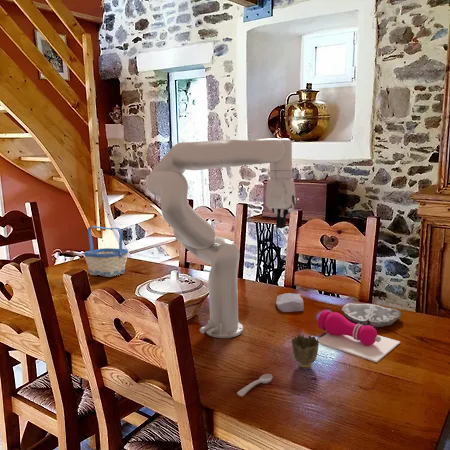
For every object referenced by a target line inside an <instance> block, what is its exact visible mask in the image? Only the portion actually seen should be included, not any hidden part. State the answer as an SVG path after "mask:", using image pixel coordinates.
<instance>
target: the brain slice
mask: <svg viewBox="0 0 450 450" xmlns="http://www.w3.org/2000/svg"><path fill="white" fill-rule="evenodd" d="M341 311H342V312H343V313H344V314H343V315H344V316H345V318H346V319H347V320H348V321H351V322H353V323H355V324H361V325H363V326H366V325H369V326H372V327H374V328H383V327H388V326H391V325H393V324H394V323H395V322H396V321H398V320H399V319H400V318H401V316H402V313H401V310H399V309H396V308H389V307H384V306H381V305H379V304H378V305H377V304H374V303H373V304H372V303H351V302H350V303H349V302H348V303H346V304H344V305H343V306H342V308H341Z"/></svg>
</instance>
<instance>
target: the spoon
mask: <svg viewBox="0 0 450 450" xmlns="http://www.w3.org/2000/svg"><path fill="white" fill-rule="evenodd" d="M272 380H273V375H272V374H271V373H264V374H262V375H260V376H259V378H258V379H256V380H254V381H253V382H252V381H251V382H250V383H249V384H247V385H246V386H244V387H242V388H241V389H240V390H238V391H237V393H236V395H238V396H239V397H244V396H245V395H246V394H247V393H248V392H249V391H250V390H251V389H252V388H254V387H255V386H256V385H258V384H269V383H271V382H272Z"/></svg>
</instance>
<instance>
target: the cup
mask: <svg viewBox="0 0 450 450" xmlns="http://www.w3.org/2000/svg"><path fill="white" fill-rule="evenodd" d="M318 339H319V338H316V336H311V335H308V337H305V335H304V334H303V335H300V334H298V335H297V336H294V337H292V339H291V347H292V353H293V354H292V355H293V357H294V360H295V361H296V362H297V363H298V366H299V367H300V368H301V369H302V370H309V369H310V368H312V365H313V363H314V362H315V361H316V359H317V357H318V352H319V345H320V344H319V341H318Z"/></svg>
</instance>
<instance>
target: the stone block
mask: <svg viewBox="0 0 450 450" xmlns="http://www.w3.org/2000/svg"><path fill="white" fill-rule="evenodd" d="M275 304H276V306H277V309H278V310H279V311H280V312H282V313H283V312H285V313H290V312H304V306H305V305H304V300H303V297H301V294H300V293H291V292H287V293H286V292H285V293H283V294H279V295H278V296H276V301H275Z"/></svg>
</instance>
